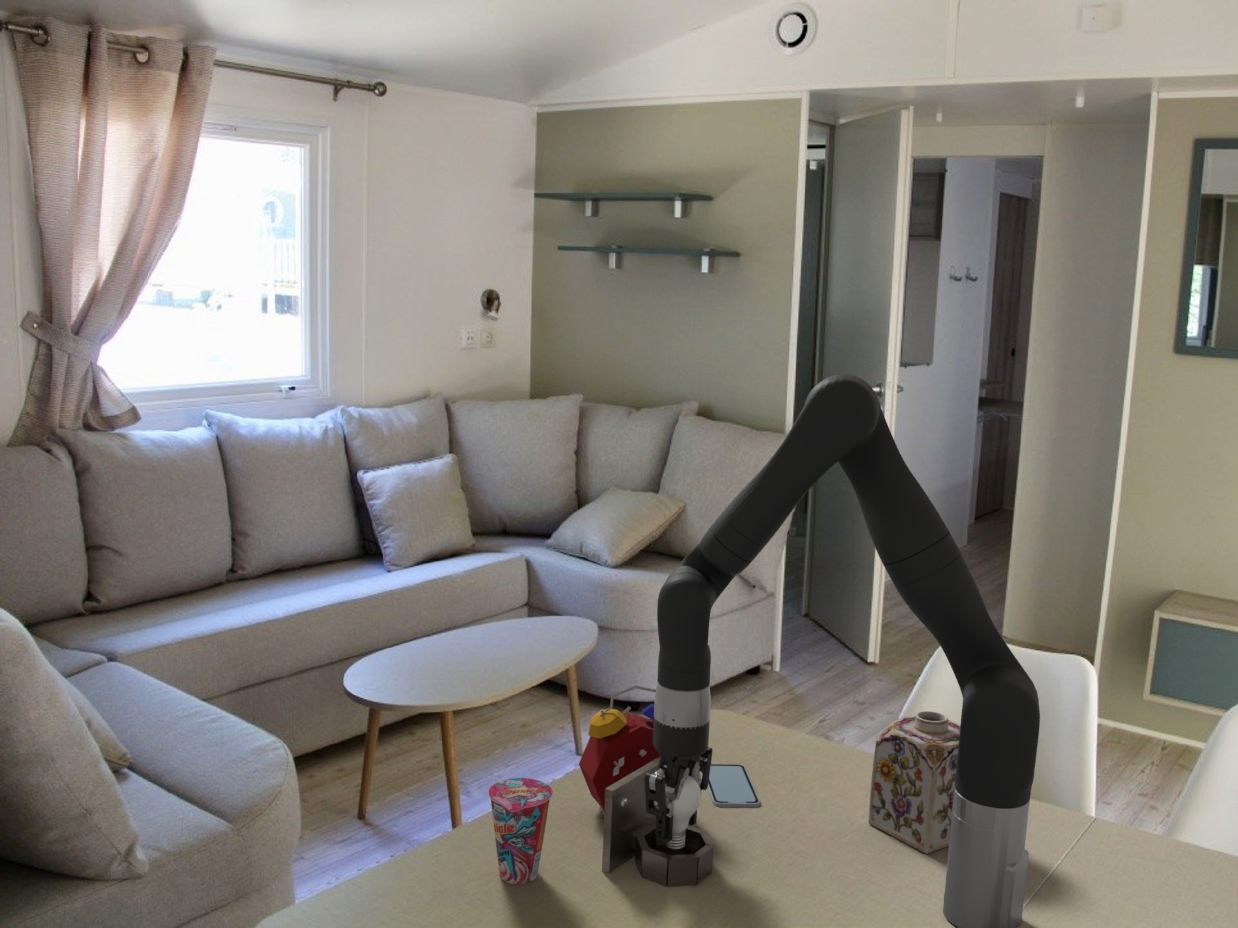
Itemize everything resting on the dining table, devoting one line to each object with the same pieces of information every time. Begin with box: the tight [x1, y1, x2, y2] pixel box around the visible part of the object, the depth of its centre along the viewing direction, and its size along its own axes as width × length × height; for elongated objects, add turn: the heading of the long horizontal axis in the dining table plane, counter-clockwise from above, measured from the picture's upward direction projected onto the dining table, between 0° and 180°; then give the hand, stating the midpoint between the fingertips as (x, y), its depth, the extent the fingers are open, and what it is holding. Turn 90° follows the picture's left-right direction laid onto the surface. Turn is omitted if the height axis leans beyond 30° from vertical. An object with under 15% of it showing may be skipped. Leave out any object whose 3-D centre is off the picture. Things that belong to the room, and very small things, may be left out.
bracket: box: [601, 757, 715, 888], centre depth 169 cm, size 12×14×12 cm
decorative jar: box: [868, 710, 960, 855], centre depth 182 cm, size 12×12×18 cm
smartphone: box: [707, 763, 761, 808], centre depth 196 cm, size 7×1×15 cm
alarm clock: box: [578, 685, 660, 818], centre depth 182 cm, size 15×9×20 cm, turn 111°
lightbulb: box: [665, 776, 702, 850], centre depth 168 cm, size 6×6×11 cm
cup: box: [488, 777, 554, 885], centre depth 164 cm, size 9×8×12 cm
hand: (676, 830), depth 168 cm, fingers closed on lightbulb, 5 cm apart
